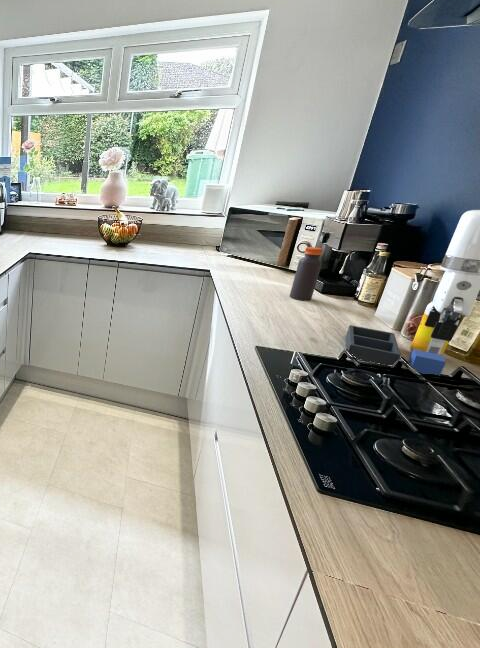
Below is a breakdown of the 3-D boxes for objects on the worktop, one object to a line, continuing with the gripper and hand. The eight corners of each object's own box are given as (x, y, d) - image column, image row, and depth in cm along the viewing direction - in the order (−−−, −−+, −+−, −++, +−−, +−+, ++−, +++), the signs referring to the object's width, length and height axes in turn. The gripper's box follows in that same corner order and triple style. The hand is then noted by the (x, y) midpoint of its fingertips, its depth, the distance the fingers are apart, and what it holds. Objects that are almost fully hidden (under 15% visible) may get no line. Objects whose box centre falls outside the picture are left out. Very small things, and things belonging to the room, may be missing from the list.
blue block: (434, 372, 101) (442, 354, 99) (438, 380, 98) (446, 361, 96) (406, 366, 104) (413, 349, 103) (408, 373, 101) (416, 355, 99)
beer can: (431, 351, 112) (452, 301, 107) (447, 361, 107) (470, 309, 102) (403, 348, 114) (423, 299, 109) (417, 358, 108) (439, 306, 103)
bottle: (285, 296, 159) (298, 247, 152) (297, 294, 161) (311, 246, 154) (302, 301, 153) (317, 250, 146) (315, 300, 155) (330, 249, 148)
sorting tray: (389, 345, 116) (394, 333, 115) (395, 368, 103) (400, 354, 102) (345, 336, 122) (349, 324, 121) (346, 357, 109) (350, 344, 108)
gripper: (503, 275, 83) (468, 349, 89) (482, 261, 95) (452, 327, 101) (449, 269, 88) (419, 339, 94) (436, 256, 100) (410, 319, 106)
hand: (436, 333), depth 97 cm, fingers open, 9 cm apart
